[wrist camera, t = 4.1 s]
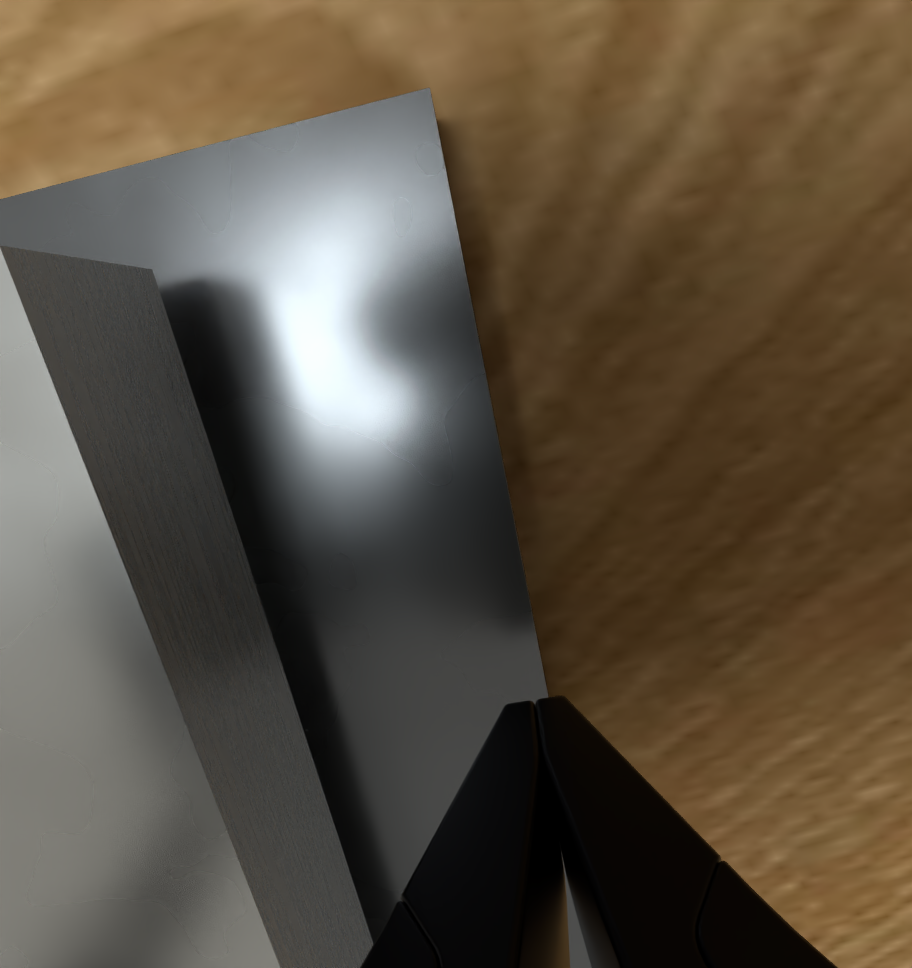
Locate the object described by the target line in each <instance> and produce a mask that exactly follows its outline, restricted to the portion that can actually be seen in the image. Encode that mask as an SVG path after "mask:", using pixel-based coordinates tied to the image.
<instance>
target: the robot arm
mask: <svg viewBox="0 0 912 968" xmlns="http://www.w3.org/2000/svg"><path fill="white" fill-rule="evenodd" d="M561 852H562V853H561ZM562 857H563V859H562ZM563 862H564V866H563ZM564 867H565V872H566V877H567V881H568V885H569V889H570V893H571V897H572V900H573V904H574V907H575V911H576V914H577V918H578V921H579V925H580V928H581V932H582V935H583V939H584V943H585V946H586V950H587V953H588V957H589V960H590V964H591V967H592V968H837V967H836V966H835V965H834V964H833V963H832V962H831V961H829V960H828V959H827V958H826V957H825V956H824V955H823V954H821V953H820V952H819V951H818V950H817V949H816V948H815V947H814V946H812V945H811V944H810V943H809V942H808V941H807V940H806V939H804V938H803V937H802V936H801V935H800V934H799V933H798V932H796V931H795V930H794V929H793V928H792V927H791V926H790V925H789V924H788V923H787V922H786V921H785V920H784V919H783V918H782V917H781V916H780V915H779V914H778V913H777V912H776V911H775V910H774V909H773V908H772V907H771V906H770V905H768V904H767V903H766V902H765V901H764V900H763V899H762V898H761V897H760V896H759V895H758V894H757V893H756V892H755V891H754V890H753V889H752V888H751V887H750V886H749V885H748V884H747V883H746V882H745V881H744V880H743V879H742V878H741V877H740V876H739V875H738V873H737V872H736V871H735V870H734V869H733V868H732V867H731V866H730V865H729V864H728V863H727V862H725V861H721V857H720V855H719V854H718V853H717V852H716V851H715V850H714V849H713V848H712V847H711V846H710V845H709V844H708V843H707V842H706V841H705V840H704V839H703V838H702V837H701V836H700V835H699V834H698V833H697V832H696V831H695V830H694V829H693V828H692V827H691V826H690V825H689V824H688V823H687V821H686V820H685V819H684V818H683V817H682V816H681V815H680V814H679V813H678V812H677V811H676V810H675V809H674V808H673V807H672V806H671V805H670V804H669V803H668V802H667V801H666V800H665V799H664V798H663V797H662V796H661V795H660V794H659V793H658V792H657V791H656V790H655V789H654V788H653V787H652V786H651V785H650V783H649V782H648V781H647V780H646V779H645V778H644V777H643V776H642V775H641V774H640V773H639V772H638V771H637V770H636V769H635V768H634V767H633V766H632V765H631V764H630V763H629V762H628V761H627V760H626V759H625V758H624V757H623V756H622V755H621V754H620V753H619V752H618V751H617V750H616V749H615V748H614V747H613V746H612V744H611V743H610V742H609V741H608V740H607V739H606V738H605V737H604V736H603V735H602V734H601V733H600V732H599V731H598V730H597V729H596V728H595V727H594V726H593V725H592V724H591V723H590V722H589V721H588V720H587V719H586V718H585V717H584V716H583V715H582V714H581V713H580V712H579V711H578V710H577V709H576V708H575V706H574V705H573V704H572V703H571V702H570V701H569V700H568V699H567V698H566V697H564V696H554V697H547V698H541V699H538V700H537V701H536V703H535V704H534V702H533V701H531V700H528V701H522V702H515V703H509V704H506V705H505V706H504V707H503V709H502V711H501V713H500V715H499V717H498V718H497V720H496V722H495V724H494V726H493V728H492V729H491V731H490V733H489V735H488V737H487V739H486V740H485V742H484V744H483V746H482V748H481V750H480V751H479V753H478V755H477V757H476V759H475V761H474V762H473V764H472V766H471V768H470V770H469V772H468V773H467V775H466V777H465V779H464V781H463V783H462V784H461V786H460V788H459V790H458V792H457V794H456V795H455V797H454V799H453V801H452V803H451V805H450V806H449V808H448V810H447V812H446V814H445V816H444V817H443V819H442V821H441V823H440V825H439V827H438V828H437V830H436V832H435V834H434V836H433V838H432V839H431V841H430V843H429V845H428V847H427V849H426V851H425V852H424V854H423V856H422V858H421V860H420V862H419V863H418V865H417V867H416V869H415V871H414V873H413V874H412V876H411V878H410V880H409V882H408V884H407V885H406V887H405V889H404V891H403V893H402V895H401V901H398V902H397V903H396V905H395V907H394V908H393V910H392V912H391V914H390V916H389V918H388V920H387V921H386V923H385V925H384V927H383V929H382V931H381V932H380V934H379V936H378V938H377V939H376V941H375V943H374V944H373V946H372V948H371V950H370V951H369V953H368V955H367V956H366V958H365V960H364V962H363V963H362V965H361V967H360V968H570V953H569V934H568V914H567V896H566V883H565V874H564Z"/></svg>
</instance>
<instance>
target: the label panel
mask: <svg viewBox="0 0 912 968" xmlns="http://www.w3.org/2000/svg"><path fill="white" fill-rule="evenodd" d="M0 246H7V247H13V248H19V249H26V250H32V251H38V252H45V253H51V254H58V255H64V256H70V257H77V258H83V259H89V260H96V261H102V262H108V263H115V264H121V265H127V266H134V267H140V268H146V269H152V270H153V273H154V276H155V279H156V282H157V285H158V289H159V292H160V295H161V298H162V301H163V304H164V307H165V310H166V313H167V316H168V319H169V322H170V325H171V328H172V331H173V334H174V337H175V340H176V343H177V346H178V349H179V353H180V356H181V359H182V362H183V365H184V368H185V371H186V374H187V377H188V380H189V383H190V386H191V389H192V392H193V395H194V398H195V401H196V404H197V407H198V410H199V414H200V417H201V420H202V423H203V426H204V429H205V432H206V435H207V438H208V441H209V444H210V447H211V450H212V453H213V456H214V459H215V462H216V465H217V468H218V471H219V474H220V478H221V481H222V484H223V487H224V490H225V493H226V496H227V499H228V502H229V505H230V508H231V511H232V514H233V517H234V520H235V523H236V526H237V529H238V532H239V535H240V538H241V542H242V545H243V548H244V551H245V554H246V557H247V560H248V563H249V566H250V569H251V572H252V575H253V578H254V581H255V584H256V587H257V590H258V593H259V596H260V599H261V603H262V606H263V609H264V612H265V615H266V618H267V621H268V624H269V627H270V630H271V633H272V636H273V639H274V642H275V645H276V648H277V651H278V654H279V657H280V660H281V663H282V667H283V670H284V673H285V676H286V679H287V682H288V685H289V688H290V691H291V694H292V697H293V700H294V703H295V706H296V709H297V712H298V715H299V718H300V721H301V724H302V728H303V731H304V734H305V737H306V740H307V743H308V746H309V749H310V752H311V755H312V758H313V761H314V764H315V767H316V770H317V773H318V776H319V779H320V782H321V785H322V788H323V792H324V795H325V798H326V801H327V804H328V807H329V810H330V813H331V816H332V819H333V822H334V825H335V828H336V831H337V834H338V837H339V840H340V843H341V846H342V849H343V852H344V856H345V859H346V862H347V865H348V868H349V871H350V874H351V877H352V880H353V883H354V886H355V889H356V892H357V895H358V898H359V901H360V904H361V907H362V910H363V913H364V917H365V920H366V923H367V926H368V929H369V932H370V935H371V938H372V941H373V944H374V943H375V941H376V939H377V938H378V936H379V934H380V932H381V931H382V929H383V927H384V925H385V923H386V921H387V920H388V918H389V916H390V914H391V912H392V910H393V908H394V907H395V905H396V903H397V902H398V901H401V895H402V893H403V891H404V889H405V887H406V885H407V884H408V882H409V880H410V878H411V876H412V874H413V873H414V871H415V869H416V867H417V865H418V863H419V862H420V860H421V858H422V856H423V854H424V852H425V851H426V849H427V847H428V845H429V843H430V841H431V839H432V838H433V836H434V834H435V832H436V830H437V828H438V827H439V825H440V823H441V821H442V819H443V817H444V816H445V814H446V812H447V810H448V808H449V806H450V805H451V803H452V801H453V799H454V797H455V795H456V794H457V792H458V790H459V788H460V786H461V784H462V783H463V781H464V779H465V777H466V775H467V773H468V772H469V770H470V768H471V766H472V764H473V762H474V761H475V759H476V757H477V755H478V753H479V751H480V750H481V748H482V746H483V744H484V742H485V740H486V739H487V737H488V735H489V733H490V731H491V729H492V728H493V726H494V724H495V722H496V720H497V718H498V717H499V715H500V713H501V711H502V709H503V707H504V706H505V705H506V704H509V703H515V702H522V701H528V700H531V701H533V702H534V704H535V703H536V701H537V700H538V699H541V698H547V697H549V695H548V690H547V684H546V679H545V674H544V669H543V664H542V659H541V654H540V648H539V643H538V638H537V633H536V628H535V623H534V618H533V612H532V607H531V602H530V597H529V592H528V587H527V582H526V576H525V571H524V566H523V561H522V556H521V551H520V546H519V540H518V535H517V530H516V525H515V520H514V515H513V510H512V504H511V499H510V494H509V489H508V484H507V479H506V474H505V468H504V463H503V458H502V453H501V448H500V443H499V438H498V432H497V427H496V422H495V417H494V412H493V407H492V401H491V396H490V391H489V386H488V381H487V376H486V371H485V365H484V360H483V355H482V350H481V345H480V340H479V335H478V329H477V324H476V319H475V314H474V309H473V304H472V299H471V293H470V288H469V283H468V278H467V273H466V268H465V263H464V257H463V252H462V247H461V242H460V237H459V232H458V227H457V221H456V216H455V211H454V206H453V201H452V196H451V191H450V185H449V180H448V175H447V170H446V165H445V160H444V155H443V149H442V144H441V139H440V134H439V129H438V124H437V119H436V114H435V110H434V105H433V101H432V96H431V92H430V88H426V89H422V90H419V91H415V92H411V93H407V94H403V95H399V96H395V97H392V98H388V99H384V100H380V101H376V102H372V103H369V104H365V105H361V106H357V107H353V108H349V109H346V110H342V111H338V112H334V113H330V114H326V115H323V116H319V117H315V118H311V119H307V120H303V121H299V122H296V123H292V124H288V125H284V126H280V127H276V128H273V129H269V130H265V131H261V132H257V133H253V134H250V135H246V136H242V137H238V138H234V139H230V140H227V141H223V142H219V143H215V144H211V145H207V146H203V147H200V148H196V149H192V150H188V151H184V152H180V153H177V154H173V155H169V156H165V157H161V158H157V159H154V160H150V161H146V162H142V163H138V164H134V165H131V166H127V167H123V168H119V169H115V170H111V171H107V172H104V173H100V174H96V175H92V176H88V177H84V178H81V179H77V180H73V181H69V182H65V183H61V184H58V185H54V186H50V187H46V188H42V189H38V190H35V191H31V192H27V193H23V194H19V195H15V196H11V197H8V198H4V199H0ZM561 853H562V852H561ZM562 859H563V857H562ZM563 866H564V862H563ZM564 874H565V883H566V896H567V914H568V934H569V953H570V968H592V967H591V964H590V960H589V957H588V953H587V950H586V946H585V943H584V939H583V935H582V932H581V928H580V925H579V921H578V918H577V914H576V911H575V907H574V904H573V900H572V897H571V893H570V889H569V885H568V881H567V877H566V872H565V867H564Z"/></svg>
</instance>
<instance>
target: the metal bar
mask: <svg viewBox="0 0 912 968" xmlns="http://www.w3.org/2000/svg"><path fill="white" fill-rule="evenodd" d="M372 946H373V941H372V938H371V935H370V932H369V929H368V926H367V923H366V920H365V917H364V913H363V910H362V907H361V904H360V901H359V898H358V895H357V892H356V889H355V886H354V883H353V880H352V877H351V874H350V871H349V868H348V865H347V862H346V859H345V856H344V852H343V849H342V846H341V843H340V840H339V837H338V834H337V831H336V828H335V825H334V822H333V819H332V816H331V813H330V810H329V807H328V804H327V801H326V798H325V795H324V792H323V788H322V785H321V782H320V779H319V776H318V773H317V770H316V767H315V764H314V761H313V758H312V755H311V752H310V749H309V746H308V743H307V740H306V737H305V734H304V731H303V728H302V724H301V721H300V718H299V715H298V712H297V709H296V706H295V703H294V700H293V697H292V694H291V691H290V688H289V685H288V682H287V679H286V676H285V673H284V670H283V667H282V663H281V660H280V657H279V654H278V651H277V648H276V645H275V642H274V639H273V636H272V633H271V630H270V627H269V624H268V621H267V618H266V615H265V612H264V609H263V606H262V603H261V599H260V596H259V593H258V590H257V587H256V584H255V581H254V578H253V575H252V572H251V569H250V566H249V563H248V560H247V557H246V554H245V551H244V548H243V545H242V542H241V538H240V535H239V532H238V529H237V526H236V523H235V520H234V517H233V514H232V511H231V508H230V505H229V502H228V499H227V496H226V493H225V490H224V487H223V484H222V481H221V478H220V474H219V471H218V468H217V465H216V462H215V459H214V456H213V453H212V450H211V447H210V444H209V441H208V438H207V435H206V432H205V429H204V426H203V423H202V420H201V417H200V414H199V410H198V407H197V404H196V401H195V398H194V395H193V392H192V389H191V386H190V383H189V380H188V377H187V374H186V371H185V368H184V365H183V362H182V359H181V356H180V353H179V349H178V346H177V343H176V340H175V337H174V334H173V331H172V328H171V325H170V322H169V319H168V316H167V313H166V310H165V307H164V304H163V301H162V298H161V295H160V292H159V289H158V285H157V282H156V279H155V276H154V273H153V270H152V269H146V268H140V267H134V266H127V265H121V264H115V263H108V262H102V261H96V260H89V259H83V258H77V257H70V256H64V255H58V254H51V253H45V252H38V251H32V250H26V249H19V248H13V247H7V246H0V968H360V967H361V965H362V963H363V962H364V960H365V958H366V956H367V955H368V953H369V951H370V950H371V948H372Z"/></svg>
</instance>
